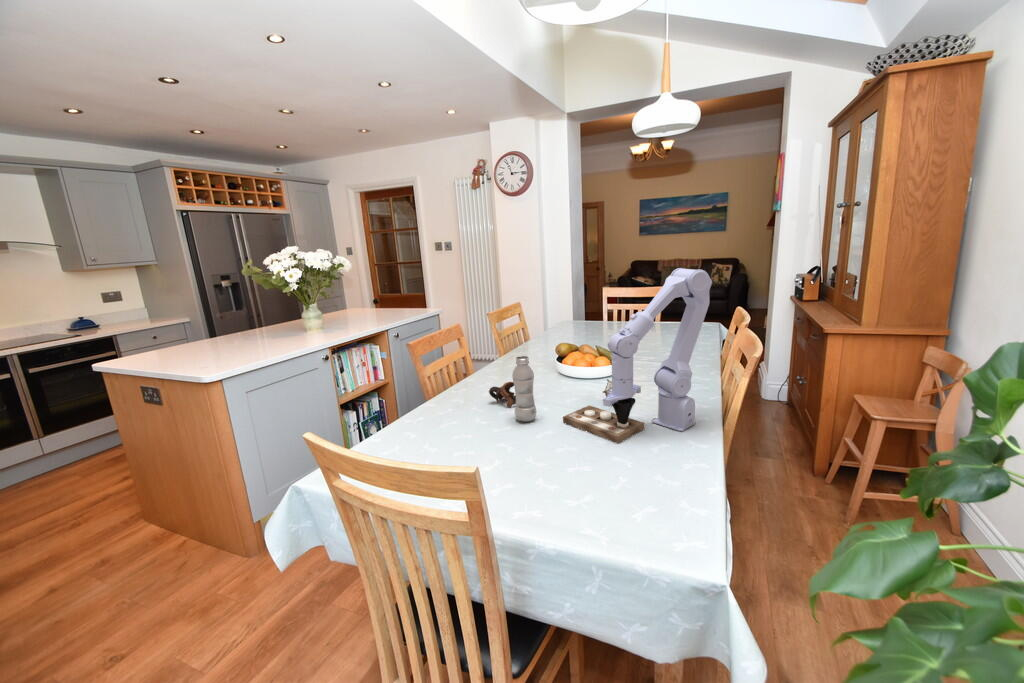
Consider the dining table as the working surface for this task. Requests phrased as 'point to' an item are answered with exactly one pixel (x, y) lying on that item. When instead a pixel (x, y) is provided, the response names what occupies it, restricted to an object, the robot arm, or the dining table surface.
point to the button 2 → (623, 424)
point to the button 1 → (589, 412)
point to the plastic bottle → (524, 390)
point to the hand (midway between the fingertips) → (622, 423)
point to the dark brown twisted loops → (504, 393)
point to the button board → (602, 424)
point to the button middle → (605, 416)
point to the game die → (608, 388)
